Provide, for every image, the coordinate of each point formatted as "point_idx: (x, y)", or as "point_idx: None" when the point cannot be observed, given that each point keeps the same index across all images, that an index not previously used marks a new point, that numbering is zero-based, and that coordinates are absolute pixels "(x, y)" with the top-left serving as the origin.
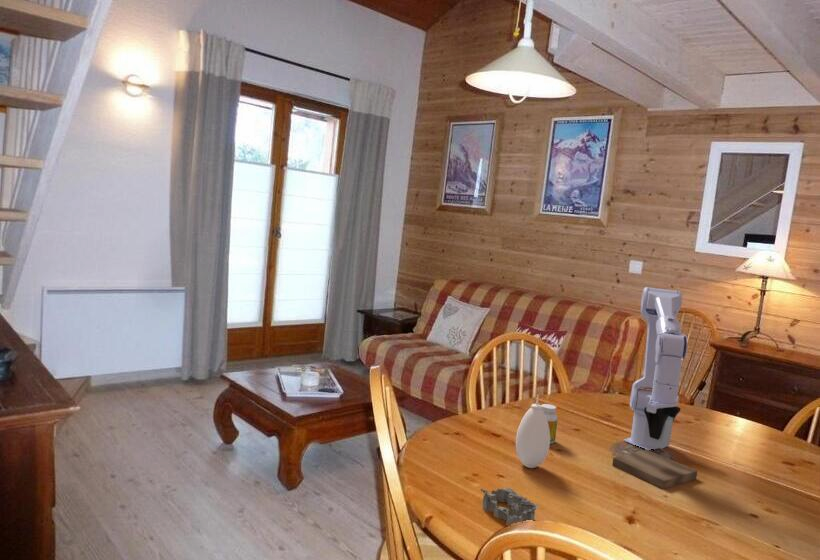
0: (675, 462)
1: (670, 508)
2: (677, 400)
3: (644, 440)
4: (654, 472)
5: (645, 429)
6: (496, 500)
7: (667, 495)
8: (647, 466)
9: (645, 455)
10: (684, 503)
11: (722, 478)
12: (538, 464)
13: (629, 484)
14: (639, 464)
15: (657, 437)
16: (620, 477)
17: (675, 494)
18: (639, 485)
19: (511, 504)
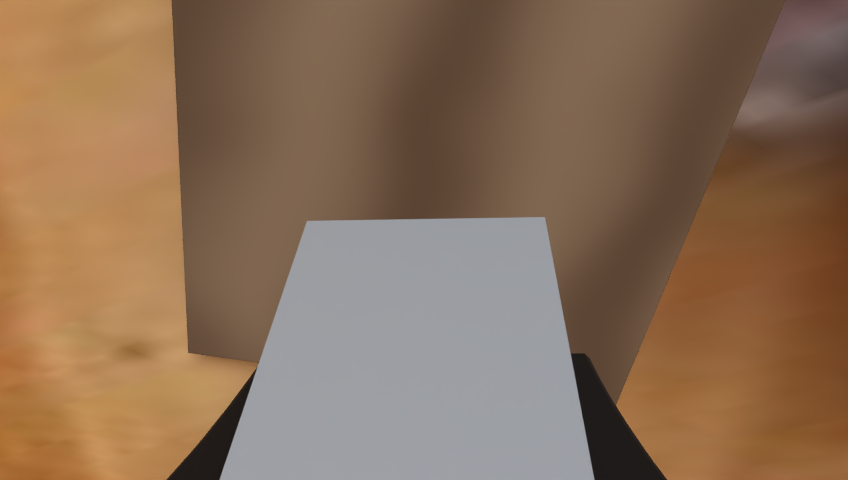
0: (653, 276)
1: (23, 413)
2: None
3: (304, 245)
4: (262, 262)
5: (272, 337)
6: None
7: (155, 355)
8: (322, 184)
9: (585, 53)
10: (163, 431)
11: (765, 445)
12: None
13: (23, 158)
14: (291, 125)
15: None
16: (50, 56)
17: (220, 374)
18: (90, 205)
19: None
